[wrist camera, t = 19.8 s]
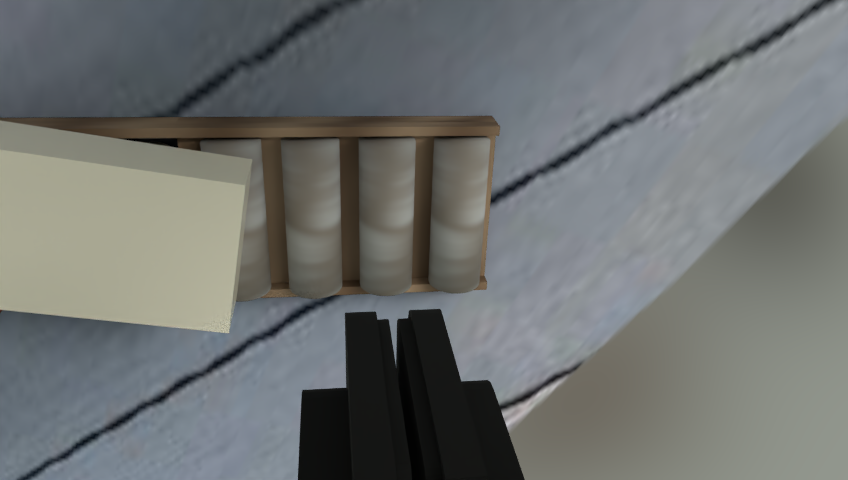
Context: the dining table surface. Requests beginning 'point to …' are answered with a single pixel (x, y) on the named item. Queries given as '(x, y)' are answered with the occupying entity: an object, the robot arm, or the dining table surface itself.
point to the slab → (119, 229)
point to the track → (345, 197)
